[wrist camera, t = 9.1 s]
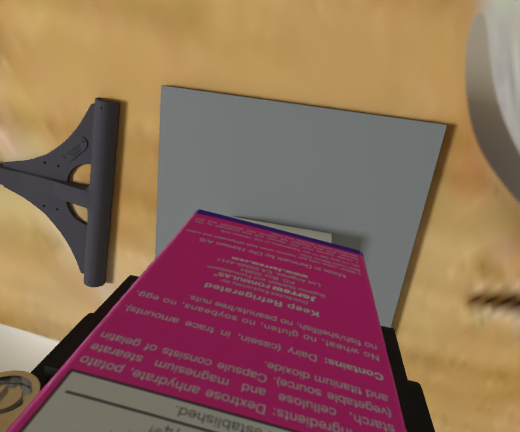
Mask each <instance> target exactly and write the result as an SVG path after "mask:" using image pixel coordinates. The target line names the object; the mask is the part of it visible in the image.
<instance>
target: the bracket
mask: <svg viewBox="0 0 520 432" xmlns="http://www.w3.org/2000/svg"><path fill="white" fill-rule="evenodd" d="M119 112H120V103H117V102H115V103H111V102H105V101H102V99H101V98H95V104H91V106H90V107H89V109H88V111H87V113H86V115H85V116H84V118H83V120H82V121H81V123H80V124H79V126H78V127H77V129H76V130H75V131H74V132H73V134H72V135H71V136H70V137H69V138H68V139H67V140H66V141H65V142H64V143H62V144H61V145H60V146H59V147H57V148H56V149H54V150H53V151H51V152H50V153H48V154H46V155H44V156H40V157H37V158H34V159H30V160H26V161H15V162H5V163H3V164H0V184H2V185H3V186H4V187H6V188H7V189H9V190H11V191H13V192H15V193H17V194H18V195H20V196H22V197H24V198H25V199H27V200H28V201H29V202H31V203H32V204H33V205H35V206H36V207H37V208H39V209H40V210H41V211H43V212H44V213H45V214H46V215H47V216H48V218H49V219H50V220H51V221H52V222H53V223H54V225H55V226H56V227H57V228H58V230H59V231H60V232H61V234H62V235H63V237H64V238H65V240H66V241H67V243H68V245H69V246H70V248H71V250H72V252H73V254H74V256H75V259H76V261H77V263H78V266H79V269H80V271H81V273H84V284H85V285H87V286H89V287H99V286H102V285H104V284H105V279H106V267H107V255H108V243H109V231H110V219H111V207H112V195H113V183H114V171H115V159H116V147H117V136H118V124H119ZM81 164H91V174H90V184H89V185H83V184H78V183H74V182H70V181H69V178H70V174H71V172H72V171H73V169H74V168H75V167H77V166H78V165H81ZM69 202H70V203H73V204H76V205H79V206H82V207H85V208H87V210H88V221H87V223H85V222H83V221H81V220H80V219H79V218H78V217H76V215H75V214H74V213H73V211H72V210H71V207H70V205H69Z"/></svg>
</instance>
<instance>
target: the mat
mask: <svg viewBox="0 0 520 432" xmlns="http://www.w3.org/2000/svg"><path fill="white" fill-rule="evenodd" d="M446 127H447V125H445V124H441V123H433V122H426V121H419V120H412V119H404V118H397V117H390V116H383V115H375V114H368V113H361V112H354V111H346V110H339V109H332V108H325V107H317V106H310V105H303V104H296V103H288V102H281V101H274V100H267V99H259V98H252V97H245V96H238V95H230V94H223V93H216V92H209V91H201V90H194V89H187V88H180V87H172V86H165V85H163V86H161V105H160V134H159V164H158V193H157V222H156V252H155V258H156V257H157V256H158V255H159V254H160V253H161V251H162V250H163V249H164V248H165V247H166V246H167V245H168V243H169V242H170V241H171V240H172V239H173V238H174V236H175V235H176V234H177V233H178V232H179V231H180V229H181V228H182V227H183V226H184V225H185V224H186V222H187V221H188V220H189V219H190V218H191V216H192V215H193V214H194V212H195V211H196V210H198V209H201V210H204V211H208V212H213V213H217V214H221V215H224V216H228V217H237V218H243V219H249V220H254V221H260V222H266V223H272V224H278V225H284V226H290V227H296V228H302V229H308V230H313V231H319V232H325V233H331V237H332V243H333V244H337V245H341V246H345V247H349V248H353V249H356V250H360V251H361V252H362V253H363V255H364V260H365V264H366V269H367V273H368V277H369V281H370V284H371V288H372V293H373V297H374V301H375V306H376V309H377V313H378V317H379V321H380V325H381V326H385V327H390V328H391V325H392V321H393V317H394V314H395V310H396V307H397V303H398V299H399V296H400V292H401V289H402V285H403V281H404V278H405V274H406V271H407V267H408V264H409V260H410V256H411V253H412V249H413V246H414V242H415V238H416V235H417V231H418V228H419V224H420V220H421V217H422V213H423V210H424V206H425V202H426V199H427V195H428V192H429V188H430V184H431V181H432V177H433V174H434V170H435V167H436V163H437V159H438V156H439V152H440V149H441V145H442V141H443V138H444V134H445V131H446Z"/></svg>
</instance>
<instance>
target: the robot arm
mask: <svg viewBox="0 0 520 432" xmlns="http://www.w3.org/2000/svg"><path fill="white" fill-rule="evenodd" d="M138 278H139V277H138V276H133V275H130V276H129V277H128V278H127V279H126V280H125V281H124V282H123V283H122V284H121V285H120V286H119V287H118V288H117V289H116V290H115V291H114V292H113V294H112V295H111V296H110V297H109V298H108V299H107V300H106V301H105V302H104V303H103V304H102V305H101V306H100V307H99V308H98V309H97V310H96V311H95V312H94V313H89V314H88V315H86V316H85V317H84V318H83V319H82V320H81V321H80V322H79V323H78V324H77V325H76V326H75V327H74V328H73V329H72V331H71V332H70V333H69V334H68V335H67V336H66V337H65V338H64V339H63V340H62V341H61V342H60V343H59V344H58V345H57V346H56V347H55V348H54V349H53V350H52V351H51V352H50V353H49V354H48V355H47V356H46V357H45V358H44V359H43V360H42V361H41V363H40V364H38V366H37V367H36V368H35V369H34V370H33V371H32V372H31V373H28V372H25V371H7V372H2V373H0V432H5V431H6V430H7V429H8V428H9V427H10V425H11V424H12V423H13V422H14V421H15V420H16V419H17V417H18V416H19V415H20V414H21V413H22V412H23V410H24V409H25V408H26V407H27V406H28V405H29V404H30V402H31V401H32V400H33V399H34V398H35V397H36V395H37V394H38V393H39V392H40V391H41V390H42V389H43V387H44V386H45V385H46V384H47V383H48V382H49V381H50V380H51V378H52V377H53V376H54V375H55V374H56V373H57V372H58V370H59V369H60V368H61V367H62V366H63V365H64V364H65V362H66V361H67V360H68V359H69V358H70V357H71V355H72V354H73V353H74V352H75V351H76V350H77V348H78V347H79V346H80V345H81V344H82V343H83V341H84V340H85V339H86V338H87V337H88V336H89V334H90V333H91V332H92V331H93V330H94V329H95V328H96V326H97V325H98V324H99V323H100V322H101V321H102V320H103V318H104V317H105V316H106V315H107V314H108V313H109V311H110V310H111V309H112V308H113V306H114V305H115V304H116V303H117V302H118V301H119V300H120V299H121V297H122V296H123V295H124V294H125V293H126V292H127V291H128V289H129V288H130V287H131V285H132V284H133V283H134V282H135V281H136V280H137V279H138ZM381 329H382V333H383V338H384V342H385V346H386V351H387V355H388V358H389V362H390V366H391V370H392V374H393V378H394V382H395V386H396V390H397V394H398V398H399V403H400V407H401V411H402V415H403V419H404V424H405V428H406V430H407V432H435V430H434V427H433V424H432V420H431V417H430V414H429V410H428V407H427V404H426V400H425V397H424V394H423V391H422V388H421V385H420V384H419V383H418V382H414V381H409V380H407V376H406V372H405V368H404V365H403V361H402V357H401V353H400V350H399V346H398V342H397V338H396V334H395V331H394V329H393V328H390V327H385V326H381Z"/></svg>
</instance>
